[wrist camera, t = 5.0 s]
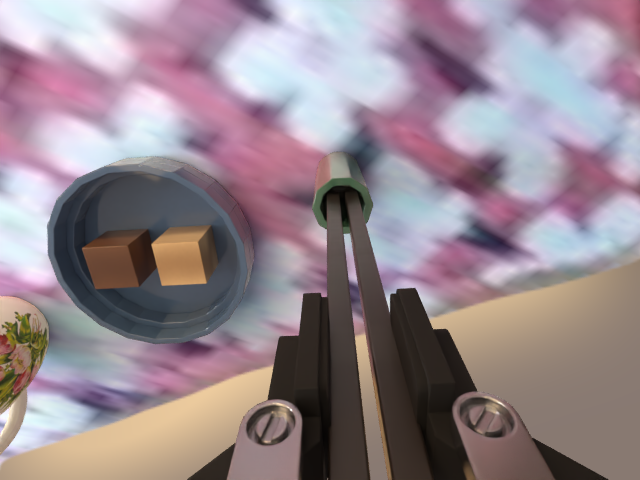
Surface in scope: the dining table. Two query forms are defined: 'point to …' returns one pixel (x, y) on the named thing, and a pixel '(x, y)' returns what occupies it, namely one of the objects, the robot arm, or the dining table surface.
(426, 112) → the dining table surface
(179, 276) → the beech block
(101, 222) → the bowl
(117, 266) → the walnut block
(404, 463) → the chopsticks
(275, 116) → the dining table surface
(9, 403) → the pitcher
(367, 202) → the holder
